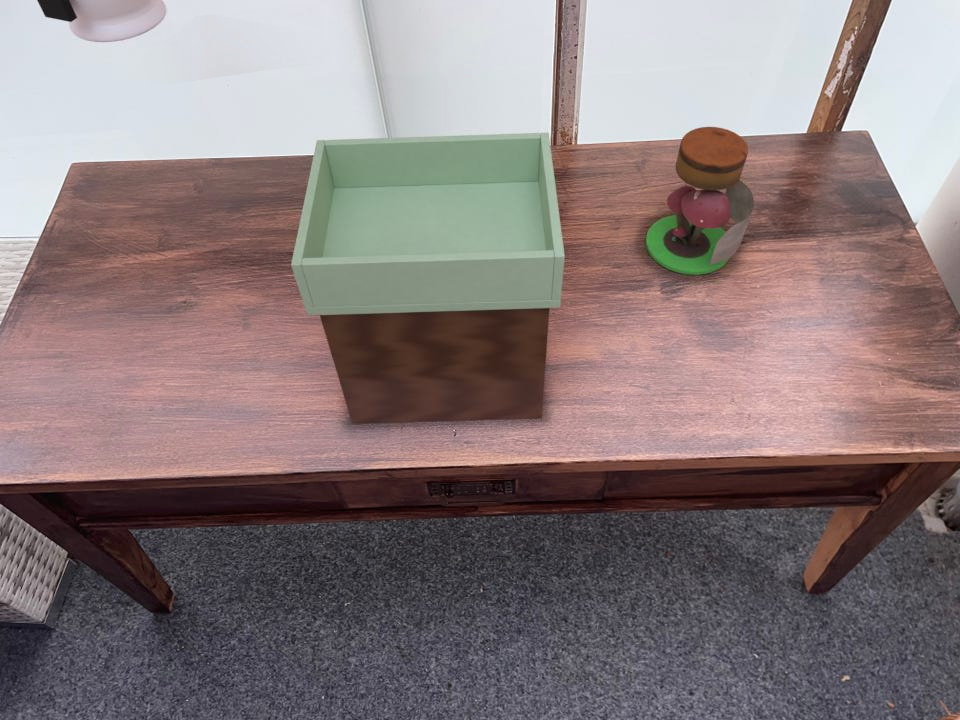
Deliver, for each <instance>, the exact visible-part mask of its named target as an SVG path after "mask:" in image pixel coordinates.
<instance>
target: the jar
mask: <svg viewBox="0 0 960 720" xmlns="http://www.w3.org/2000/svg"><path fill="white" fill-rule="evenodd" d="M69 1H70V3H71V5H72V7H73V10H74V12H75V14H76V16H77V18H76V19H75V20H73V21H72V22H68V24H69V28H70V31H71V32H72V34H73V35H74V36H75V37H78V38H80V39H82V40H84V41H87V42H94V43H112V42H113V43H115V42H119V41H120V42H121V41H125V40H129V39H133V38H135V37H138V36H139V37H140V36H141V35H143V34H146V33H148V32H149V31H151V30H153V29H155V28H156V27H157V26H158V25H160V24H161V22H162V21H163V20H164V19H165V17H166V15H167V6H166V3H165V2H164V1H163V0H69Z"/></svg>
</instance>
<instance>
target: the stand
mask: <svg viewBox="0 0 960 720" xmlns="http://www.w3.org/2000/svg"><path fill="white" fill-rule="evenodd" d="M550 310H551V308H534V309H502V310H469V311H437V312H405V313H373V314H340V315H319V317H320V321H321V325H322V328H323V331H324V334H325V335H324V336H325V337H326V342H327V344H328V348H329V352H330V354H331V358H332V361H333V364H334V368H335V371H336V375H337V379H338V381H339V384H340V388H341V391H342V394H343V397H344V401H345V405H346V407H347V408H346V409H347V411H348V414H349V419H350V421H351V424H352V425H361V424H392V423H393V424H395V423H396V424H397V423H426V422H427V423H429V422H460V421H461V422H462V421H490V420H491V421H494V420H496V421H497V420H498V421H499V420H528V419H530V420H531V419H542V418H543V404H544V390H545V379H546V377H545V376H546V364H547V363H546V362H547V350H548V338H549V337H548V336H549V321H550Z"/></svg>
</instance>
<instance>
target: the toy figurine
mask: <svg viewBox="0 0 960 720" xmlns="http://www.w3.org/2000/svg"><path fill="white" fill-rule="evenodd" d="M748 154H749V146H748V144H747V142H746V141H745V139H744V138H743V137H742V136H740V135H739V134H737V133H736V132H735V131H732V130H729V129H727V128H723V127H718V126H701V127H697V128H694V129H692V130H689V131H688V132H687V133H685V134H684V135H683V137H682V138H681V141H680V144H679V148H678V153H677V157H676V162H675V173H676V174H677V176H678V178H679V179H681V180H682V182H684V183H686V184H687V185H683V186H681V187H678V188H676V189H675V190H674V191H672V192H671V193H670V194H669V195H668V196H667V198H666V204H667V207H668V209H670V211H672V212H673V213H675V214H673V215H668V216H665V217H662V218H660V219H658V220H657V221H655V222H654V223H653V224H652V225H651V226H650V227H649V228H648V231H647V233H646V235H645V247H646V250H647V253H648V254H649V256H650V257H651V258H652V259H653V260H654V261H655V262H656V263H657V264H659V265H660V266H662V267H663V268H665V269H667V270H670V271H672V272H674V273H678V274H683V275H690V276H691V275H692V276H695V275H696V276H697V275H699V276H701V275H706V274H710V273H713V272H715V271H717V270H719V269H721V268H723V267H724V266H725V265H726V264H727V263H728V261H729V260H730V258H731V257H733V256H734V254H735V253H736V252H737V251H738V250H739V248H740V246H741V244H742V241H743V239H744V236H745V233H746V230H747V228H748V226H749V224H750V221H751V218H752V217H751V216H752V213H753V210H754V206H755V199H754V195H753V192H752V190H751V189H750V187H749V186H748V185H747V184H746V183H745V182H743V181H742V180H740V179H741V177H742V173H743V171H744V167H745V164H746V162H747V157H748ZM697 189H698V190H697ZM721 190H725V192H723V191H721ZM730 218H731V219H732V220H733V221H734V222H735V224H734V225H731V226H730V227H729V228H728V229H727V230H725V229H724V228H722V227H723V226H725V225H727V224H728V223H729V221H730Z"/></svg>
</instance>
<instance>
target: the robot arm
mask: <svg viewBox="0 0 960 720" xmlns="http://www.w3.org/2000/svg"><path fill="white" fill-rule="evenodd" d="M36 1H37V3H38V5H39V7H40V9H41V11H42V13H43V15H44V17H45V18H48V19H53V20H58V21H63V22H68V23H69V22H72V21H73V20H75V19H76V18H77V16H76V14H75V12H74V10H73V7H72V5H71V3H70V1H69V0H36Z"/></svg>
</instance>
